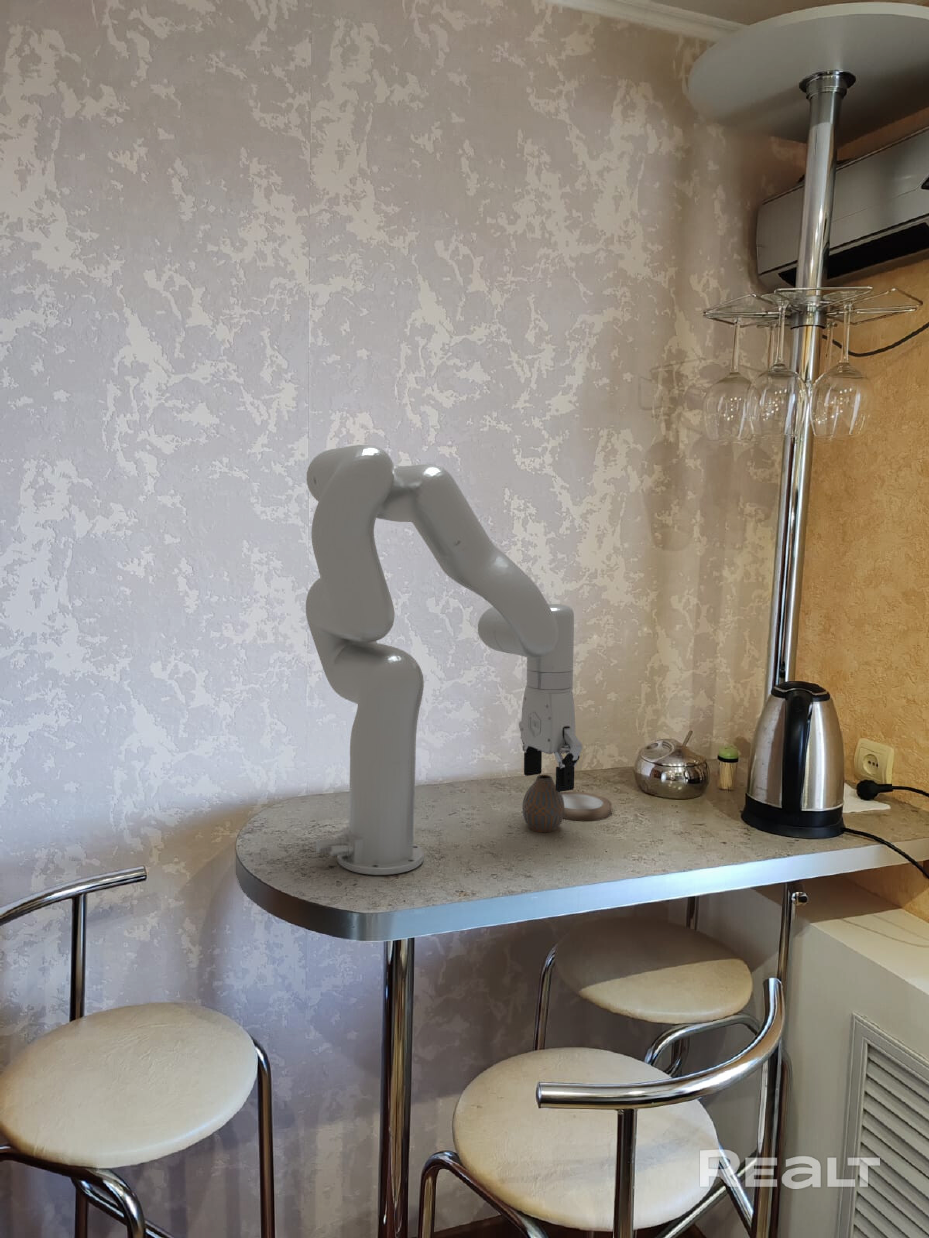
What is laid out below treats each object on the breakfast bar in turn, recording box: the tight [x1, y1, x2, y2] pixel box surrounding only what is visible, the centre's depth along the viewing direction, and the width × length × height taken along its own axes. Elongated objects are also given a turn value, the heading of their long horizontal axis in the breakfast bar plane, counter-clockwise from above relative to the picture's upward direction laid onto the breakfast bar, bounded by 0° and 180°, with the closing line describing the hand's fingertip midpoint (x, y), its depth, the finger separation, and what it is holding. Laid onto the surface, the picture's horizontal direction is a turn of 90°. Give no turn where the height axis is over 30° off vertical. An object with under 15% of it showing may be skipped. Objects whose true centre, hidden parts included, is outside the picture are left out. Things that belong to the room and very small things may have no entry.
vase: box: [521, 774, 564, 833], centre depth 147 cm, size 7×7×9 cm
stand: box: [561, 791, 613, 822], centre depth 157 cm, size 12×12×2 cm
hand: (548, 782), depth 147 cm, fingers open, 9 cm apart
